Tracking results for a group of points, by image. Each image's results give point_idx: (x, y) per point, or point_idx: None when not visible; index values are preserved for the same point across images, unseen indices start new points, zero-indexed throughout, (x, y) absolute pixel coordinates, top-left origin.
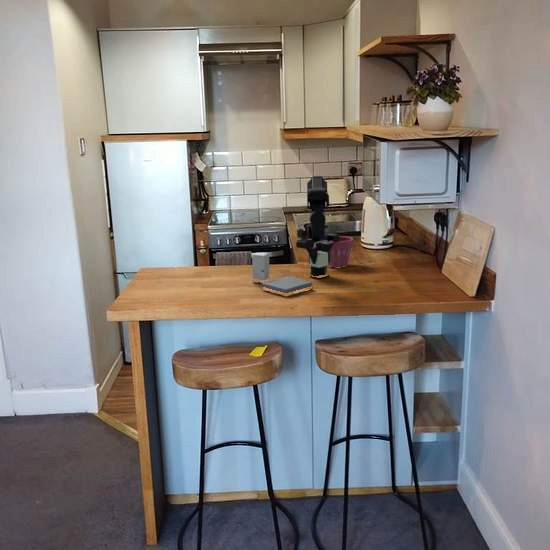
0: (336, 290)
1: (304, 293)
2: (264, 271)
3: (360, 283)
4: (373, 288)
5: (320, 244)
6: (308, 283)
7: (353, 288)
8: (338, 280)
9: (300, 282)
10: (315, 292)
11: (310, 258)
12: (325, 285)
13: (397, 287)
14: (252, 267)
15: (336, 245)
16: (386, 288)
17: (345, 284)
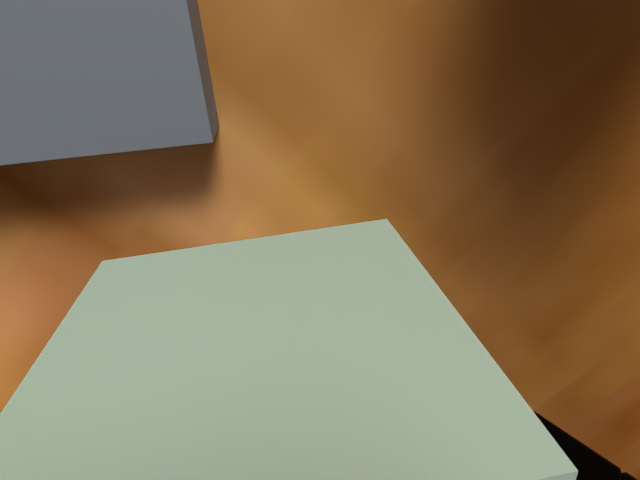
0: None
1: (71, 184)
2: None
3: (622, 252)
4: (551, 385)
5: None
6: (147, 148)
7: (480, 318)
8: (630, 42)
9: (67, 43)
10: (183, 224)
11: (34, 415)
12: (413, 98)
13: (634, 435)
14: None
15: None
16: (588, 420)
17: (541, 199)
